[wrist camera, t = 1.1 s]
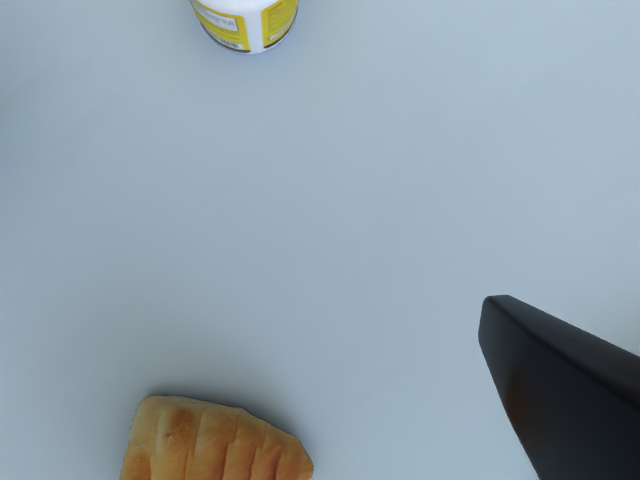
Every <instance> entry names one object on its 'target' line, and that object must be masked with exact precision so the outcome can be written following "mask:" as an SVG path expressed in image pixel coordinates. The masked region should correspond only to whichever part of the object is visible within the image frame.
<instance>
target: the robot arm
mask: <svg viewBox="0 0 640 480" xmlns="http://www.w3.org/2000/svg"><path fill="white" fill-rule="evenodd" d="M478 338H479V344H480V347H481V349H482V352H483V355H484V357H485V360H486V362H487V365H488V368H489V370H490V373H491V375H492V378H493V381H494V383H495V386H496V388H497V391H498V394H499V396H500V399H501V401H502V404H503V406H504V409H505V411H506V414H507V416H508V418H509V420H510V422H511V424H512V426H513V428H514V430H515V432H516V434H517V436H518V438H519V440H520V442H521V444H522V446H523V448H524V450H525V452H526V454H527V455H528V457H529V459H530V461H531V463H532V465H533V467H534V469H535V471H536V473H537V475H538V477H539V479H540V480H640V357H639V356H637V355H635V354H633V353H630V352H628V351H626V350H624V349H622V348H620V347H618V346H616V345H613V344H611V343H609V342H607V341H605V340H603V339H601V338H599V337H596V336H594V335H592V334H590V333H588V332H586V331H584V330H582V329H579V328H577V327H575V326H573V325H571V324H569V323H567V322H565V321H562V320H560V319H558V318H556V317H554V316H552V315H550V314H548V313H546V312H543V311H541V310H539V309H537V308H535V307H533V306H531V305H529V304H526V303H524V302H522V301H520V300H518V299H516V298H514V297H512V296H509V295H496V296H488V297H486V298H485V299H484V302H483V305H482V312H481V318H480V325H479V331H478Z"/></svg>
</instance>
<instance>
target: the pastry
mask: <svg viewBox="0 0 640 480" xmlns="http://www.w3.org/2000/svg"><path fill="white" fill-rule="evenodd" d="M312 474H313V463H312V461H311V459H310V457H309V456H308V454H307V452H306V451H305V449H304V447H303V445H302V444H301V442H300V441H299V439H298V438H297V437H295V436H293V435H290V434H288V433H286V432H284V431H283V430H281V429H278V428H275V427H273V426H272V425H270V424H269V423H268V422H267V421H265V420H261V419H258V418H256V417H254V416H252V415H251V414H250V413H249V412H247V411H246V410H244V409H243V408H240V407H235V408H232V407H228V406H225V405H223V404H217V403H212V402H209V401H205V400H204V401H200V400H196V399H191V398H188V397H183V396H177V395H169V396H148V397H146V398H144V399H143V400H142V401H141V402H140V403H139V404H138V406H137V409H136V412H135V414H134V417H133V420H132V424H131V427H130V438H129V442H128V448H127V451H126V453H125V457H124V462H123V467H122V470H121V473H120V478H119V480H310V479H311V477H312Z"/></svg>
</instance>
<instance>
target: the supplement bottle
mask: <svg viewBox="0 0 640 480" xmlns="http://www.w3.org/2000/svg"><path fill="white" fill-rule="evenodd" d="M189 1H190V3H191V5H192V7H193V9H194V11H195V13H196V15H197V17H198V19H199V21H200V23H201V25H202V26H203V28H204V29H205V31H206V32H207V33H208V35H209V36H210V37H211V38H212V39H213V40H214V41H215V42H216V43H218V44H219V45H220V46H222V47H224V48H225V49H228V50H230V51H232V52H236V53H240V54H257V53H261V52H264V51H267V50H269V49H271V48H273V47H275V46H276V45H277V44H279V43H280V42H281V41H282V40H283V39H284V38H285V37H286V36H287V35H288V33H289V32H290V30H291V28H292V26H293V24H294V21H295V18H296V14H297V8H298V0H189Z"/></svg>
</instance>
